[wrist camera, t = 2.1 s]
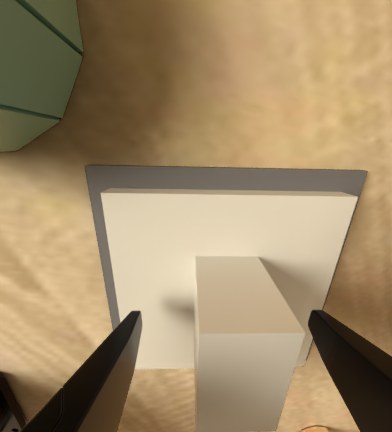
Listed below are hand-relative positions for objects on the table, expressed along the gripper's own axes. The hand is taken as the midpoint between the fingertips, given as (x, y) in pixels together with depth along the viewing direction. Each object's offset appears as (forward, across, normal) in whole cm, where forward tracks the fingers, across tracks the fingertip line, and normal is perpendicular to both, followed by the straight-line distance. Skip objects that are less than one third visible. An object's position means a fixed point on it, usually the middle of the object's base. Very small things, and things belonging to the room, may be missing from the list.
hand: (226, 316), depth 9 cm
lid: (+2, 0, 0) cm, 2 cm away
